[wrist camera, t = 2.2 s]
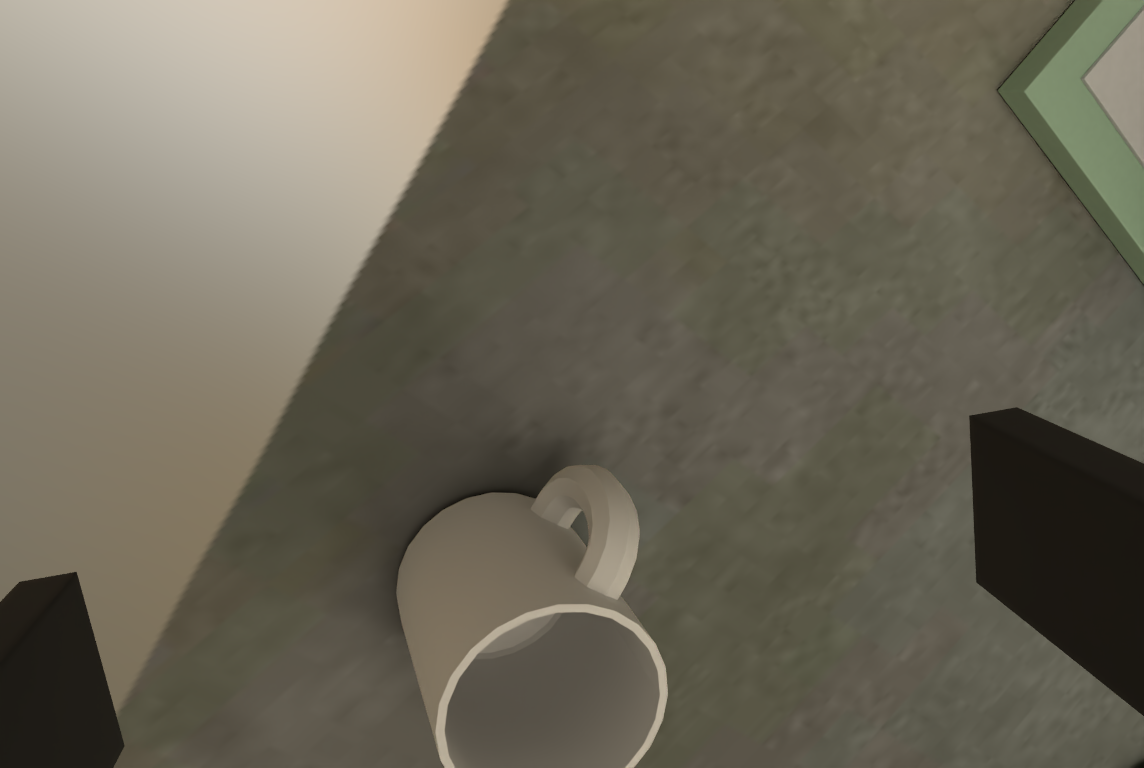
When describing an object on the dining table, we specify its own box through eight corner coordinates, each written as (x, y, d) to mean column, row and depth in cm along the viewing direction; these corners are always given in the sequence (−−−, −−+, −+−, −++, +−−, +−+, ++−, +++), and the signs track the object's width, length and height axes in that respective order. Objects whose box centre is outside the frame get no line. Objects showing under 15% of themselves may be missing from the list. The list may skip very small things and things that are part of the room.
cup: (358, 624, 37) (390, 779, 29) (490, 390, 36) (561, 484, 28) (522, 683, 40) (593, 839, 32) (649, 468, 39) (755, 573, 31)
